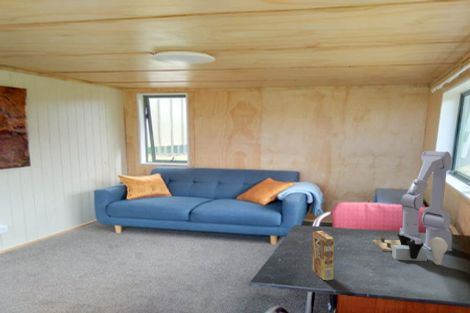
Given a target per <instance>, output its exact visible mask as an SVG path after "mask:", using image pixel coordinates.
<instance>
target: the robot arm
mask: <svg viewBox="0 0 470 313" xmlns="http://www.w3.org/2000/svg"><path fill="white" fill-rule="evenodd" d="M452 158H453V157H452V155H451V153H450V152H449V151H437V150H435V151H434V150H433V151H432V150H424V151H423V152H422V153H421V158H420V160H421V164H422V165H421V167H420V170H419V173H418V174H417V175H418V176H417V178H415V179H413V180H412V182H411V184H410V185H409V188H408V189H407V192H406V193H404V194H403V195H402V196H401V199H400V205H401V211H402V227H399V233H397V234H396V235H397V238H398V240H400V243H401V245H408V246H409V250H410V258H411V259H417V256H418V253H419V251H420V249H421V248H422V247H425V248H426V249H427V250H428V251H432V250H431V249H430V246H429V242H430V240H431V239H433V238H436V237H438V238H442V239H444V240H445V241H446V243H447V245H448V248H447V250H446V252H452V251H453V249H452V240H453V239H452V238H453V235H452V232H451V230H450V229H449V228H450V226H451V216H450V215H451V214H450V212H449V211H447V209H445V208H444V203H445V202H444V201H445V192H446V190H445V189H446V182H447V172H448V171H450V170H451V167H452ZM431 175H432V182H431V193H430V202H429V206H428V207H426V208H424V209H423V213H422V216H421V223H422V225H423V226H424V228H425V242H422V238H421V237H420V234H419V226H420V225H419V221H420V209H422V208H423V203H424V195H425V193H426V191H427V188H428V186H429V185H428V183H427V181H428V180H429V179H430V177H431Z"/></svg>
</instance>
